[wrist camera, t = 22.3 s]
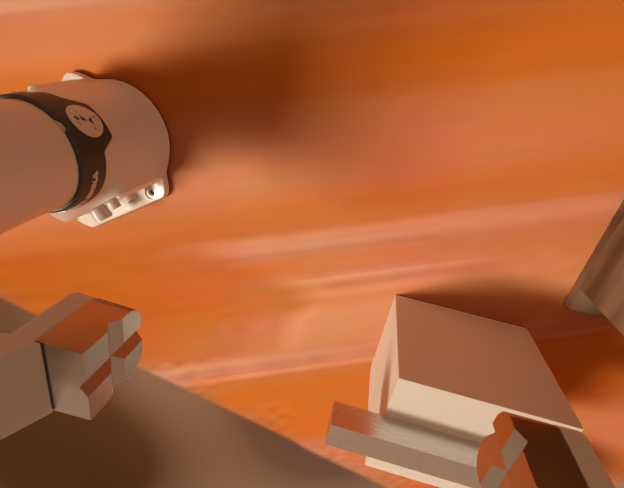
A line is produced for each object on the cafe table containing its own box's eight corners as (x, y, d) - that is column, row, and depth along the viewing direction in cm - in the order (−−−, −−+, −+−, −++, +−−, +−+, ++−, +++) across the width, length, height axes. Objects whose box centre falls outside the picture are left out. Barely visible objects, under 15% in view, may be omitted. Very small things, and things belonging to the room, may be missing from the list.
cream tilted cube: (370, 368, 57) (365, 464, 43) (395, 294, 51) (398, 378, 37) (486, 400, 56) (521, 512, 41) (526, 328, 50) (583, 429, 35)
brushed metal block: (328, 419, 41) (324, 443, 38) (334, 401, 40) (330, 424, 37) (568, 489, 39) (581, 520, 36) (582, 472, 37) (597, 503, 35)
